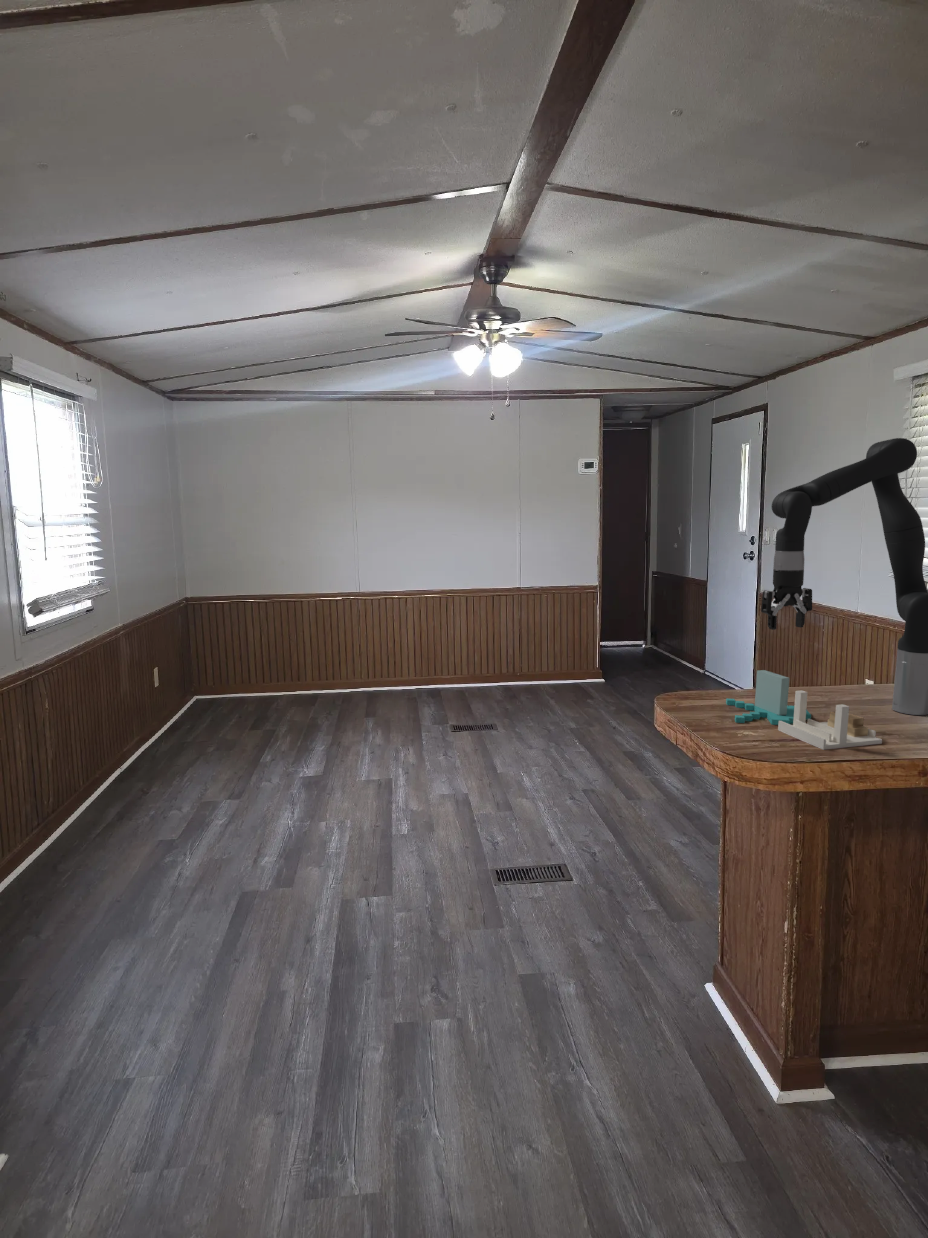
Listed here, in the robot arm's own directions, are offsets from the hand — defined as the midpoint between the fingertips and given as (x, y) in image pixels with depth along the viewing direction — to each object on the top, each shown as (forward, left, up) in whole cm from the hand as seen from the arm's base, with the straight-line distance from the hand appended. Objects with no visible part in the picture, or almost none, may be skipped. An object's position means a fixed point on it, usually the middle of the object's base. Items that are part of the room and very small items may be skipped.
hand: (785, 628), depth 207 cm
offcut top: (-4, +19, -21) cm, 29 cm away
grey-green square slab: (+3, -1, -23) cm, 23 cm away
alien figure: (+3, -1, -25) cm, 25 cm away
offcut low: (-4, +20, -23) cm, 31 cm away
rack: (+1, +20, -24) cm, 31 cm away
